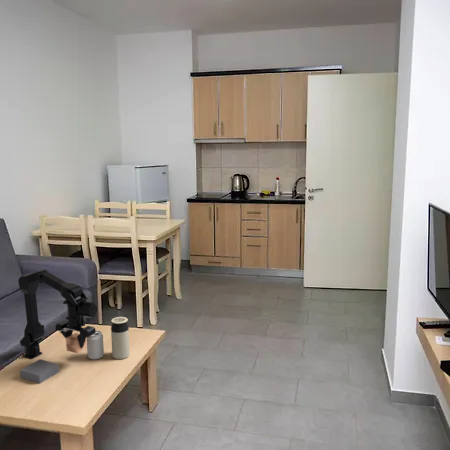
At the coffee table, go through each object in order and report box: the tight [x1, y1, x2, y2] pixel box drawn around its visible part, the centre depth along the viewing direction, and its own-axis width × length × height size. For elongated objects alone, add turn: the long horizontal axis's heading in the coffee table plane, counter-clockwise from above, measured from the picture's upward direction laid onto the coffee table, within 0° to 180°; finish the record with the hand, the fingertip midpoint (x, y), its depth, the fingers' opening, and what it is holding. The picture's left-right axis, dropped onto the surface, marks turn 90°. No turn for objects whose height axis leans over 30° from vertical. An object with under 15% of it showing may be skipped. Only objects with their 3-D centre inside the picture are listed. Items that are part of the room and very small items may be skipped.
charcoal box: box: [19, 358, 60, 384], centre depth 199 cm, size 11×11×4 cm
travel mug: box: [110, 316, 130, 360], centre depth 216 cm, size 8×8×18 cm
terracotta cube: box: [65, 332, 87, 354], centre depth 207 cm, size 6×6×6 cm
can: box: [86, 329, 105, 360], centre depth 216 cm, size 8×8×12 cm
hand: (76, 346), depth 207 cm, fingers closed on terracotta cube, 6 cm apart
